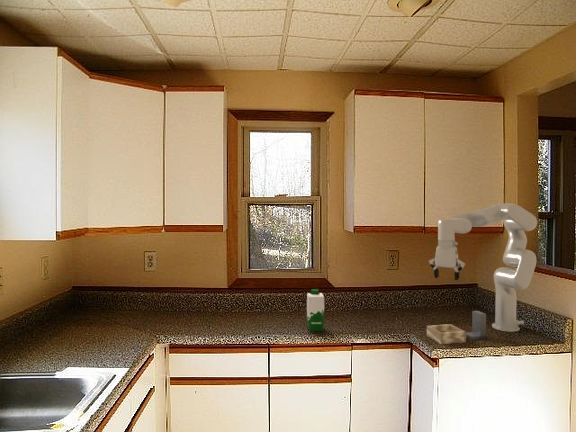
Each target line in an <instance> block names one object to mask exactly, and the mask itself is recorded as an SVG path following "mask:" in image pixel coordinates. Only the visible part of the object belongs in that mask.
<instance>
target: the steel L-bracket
mask: <svg viewBox="0 0 576 432" xmlns="http://www.w3.org/2000/svg"><path fill="white" fill-rule="evenodd" d="M471 313H472V314H471V315H472V318H471V319H472V320H471V321H472V322H471V324H472V325H471V331H472V332H469V331H468V332H466V339H469V340H470V341H474V340H486V339H487V314H486V313H485V312H482V311H480V310H472V312H471Z"/></svg>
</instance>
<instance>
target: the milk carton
mask: <svg viewBox="0 0 576 432" xmlns="http://www.w3.org/2000/svg"><path fill="white" fill-rule="evenodd" d="M319 291H320V290H319V288H312V289H310V292H308V293H307V294H306V295H307V297H306V320H307V321H306V322H307V328H308V330H309V332H324V329H325V328H324V324H325V296H324V294H323V293H322V292H319Z"/></svg>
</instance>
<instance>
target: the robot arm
mask: <svg viewBox="0 0 576 432" xmlns="http://www.w3.org/2000/svg"><path fill="white" fill-rule="evenodd" d="M500 221H502V223H503V226H504V227H505V229H506V231H507V234H508V240H507V243H506V247H505V249H504V253H503V256H502V261H503V263H504V264H505V265H507V266H509V267H498V268H496V269H495V271H494V273H493V281H494V287H495V306H494V307H495V310H494V311H495V314H494V315H495V316H494V317H495V318H494V322H493V323H491V327H492V329H495V330H497V331H502V332H510V333H515V332H519V331H520V329H521V328H520V325H525V322H524V320H518V319H517V292H516V290H525V289H527V288H528V287H529V286H530V284H531V281H532V278H533V276H534V273H535V269H536V265H537V262H538V261H537V256H536V253H535V252H533V251H532V250H530V249H526V248H527V244H528V239H527V238H528V237H527V235H526V233H525V232H530V231H533V230H535V229H536V227H537V225H538V220H537V217H536V216H535V215H534V214H533V213H531V212H529V211H527V210H526V209H524V208H523V207H522V206H520V205H518V204H515V203H511V202H509V203H495V204H493V205H489V206H487V207H484V208H480V209H476V210H472V211H469V212H464V213H460V214H456V215H453V216H450V217H448V218H439V220H438V221H437V246H436V248H435V249H436V250H435V254H434V255H435V256H434V258H431V259H429V260H428V262H429V265H430V266H431V268H432V269H433V276H434V278H435V279H437V278H439V277H440V274H439V273H440V271H439V268H450V269H453V270H454V271H455V272H454V280H455V281H459V279H460V272H461V271H462V270H463V269H464V267H465V266H466V263H465V262H463V260H462V261H461V260H460V259H459V253H458V248H457V246H458V244H459V243H458V242H456V240H455V239H456V238H455V234H467V233H470V231H471V230H472V227H473V228H475V227H476V228H478V227H479V228H480V227H485V226H489V225H491V224H494V223H497V222H500ZM459 265H460V266H459ZM511 267H513V268H511ZM515 289H516V290H515Z"/></svg>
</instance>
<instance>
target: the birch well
mask: <svg viewBox="0 0 576 432" xmlns="http://www.w3.org/2000/svg"><path fill="white" fill-rule="evenodd" d="M466 333H467V331H466V330H464V329H461V328H459V327H457V326H456V325H454V324H451V323H449V324H436V325H433V324H431V325H426V337H428V338H429V337H430V339H431V338H432V339H431V340H433V339H434V340H435V341H434V340H433V341H434V342H436V341H437V342H436V343H438V344H440V345H449V344H450V345H451V344H462V343H466V342H467V338H466Z"/></svg>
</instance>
